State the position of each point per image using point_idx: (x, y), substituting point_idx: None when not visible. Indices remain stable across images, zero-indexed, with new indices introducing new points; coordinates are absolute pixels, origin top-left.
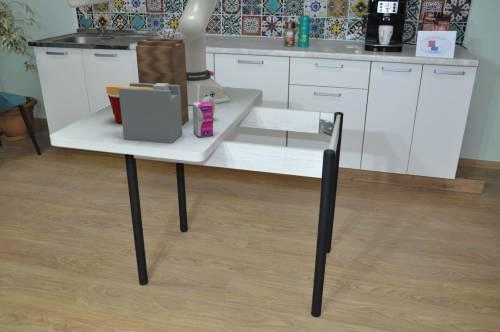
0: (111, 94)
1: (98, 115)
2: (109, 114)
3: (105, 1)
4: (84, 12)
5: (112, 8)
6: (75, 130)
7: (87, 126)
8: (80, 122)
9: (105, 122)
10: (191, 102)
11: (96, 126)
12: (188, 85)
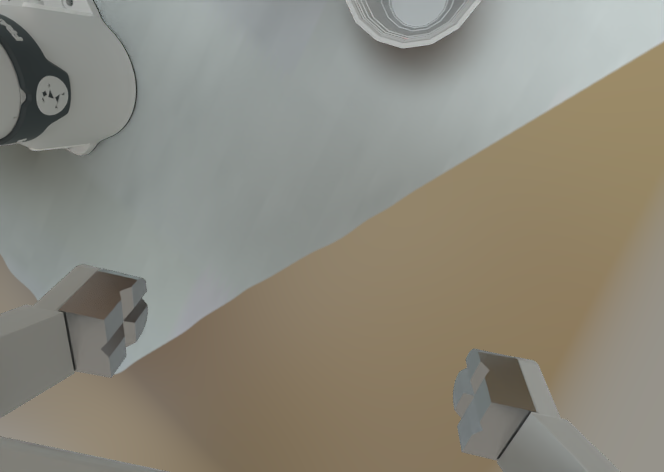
0: (438, 30)
1: (444, 151)
2: (406, 136)
3: (39, 445)
4: (573, 440)
5: (42, 313)
6: (631, 5)
7: (561, 30)
8: (548, 106)
9: (477, 37)
10: (106, 35)
11: (536, 4)
12: (58, 50)
